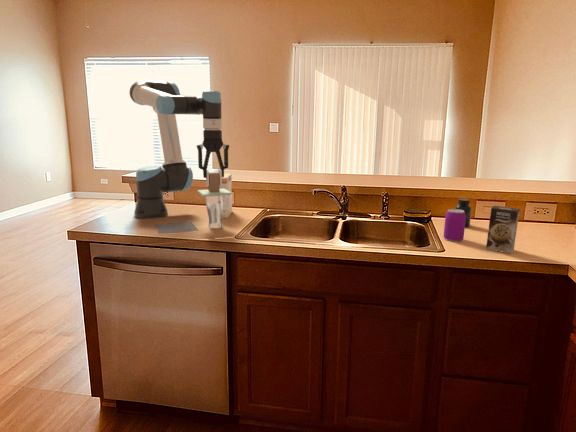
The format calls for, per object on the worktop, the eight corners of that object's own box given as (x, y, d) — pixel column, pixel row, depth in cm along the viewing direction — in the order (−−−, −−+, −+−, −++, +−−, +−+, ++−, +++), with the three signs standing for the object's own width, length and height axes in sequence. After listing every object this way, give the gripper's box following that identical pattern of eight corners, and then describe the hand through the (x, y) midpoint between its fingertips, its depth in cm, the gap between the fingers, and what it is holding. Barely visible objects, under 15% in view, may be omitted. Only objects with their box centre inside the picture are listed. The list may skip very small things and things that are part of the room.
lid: (197, 192, 191) (196, 171, 189) (224, 190, 195) (223, 170, 193) (202, 196, 180) (201, 175, 178) (231, 194, 184) (230, 173, 182)
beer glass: (219, 230, 187) (219, 195, 183) (204, 229, 188) (203, 194, 185) (225, 226, 194) (224, 192, 190) (210, 225, 195) (209, 192, 191)
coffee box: (485, 249, 165) (490, 207, 161) (488, 245, 170) (493, 204, 166) (512, 254, 160) (518, 211, 156) (514, 249, 165) (520, 208, 161)
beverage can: (445, 241, 175) (448, 212, 172) (441, 236, 182) (444, 208, 179) (465, 242, 174) (468, 213, 171) (460, 237, 181) (463, 208, 178)
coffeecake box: (218, 211, 222) (217, 172, 218) (232, 211, 222) (232, 173, 218) (212, 218, 208) (211, 177, 203) (227, 218, 208) (226, 177, 203)
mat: (155, 225, 193) (155, 224, 193) (191, 222, 199) (191, 221, 199) (159, 234, 179) (158, 233, 179) (198, 231, 184) (198, 230, 184)
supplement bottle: (470, 224, 202) (473, 199, 199) (469, 227, 196) (472, 201, 193) (454, 222, 205) (456, 197, 202) (453, 226, 199) (455, 200, 196)
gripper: (192, 129, 175) (194, 187, 180) (235, 129, 181) (236, 185, 186) (189, 129, 181) (191, 184, 187) (231, 129, 188) (232, 182, 193)
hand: (214, 185), depth 187 cm, fingers open, 5 cm apart
